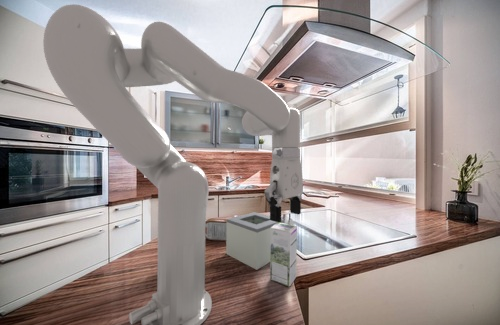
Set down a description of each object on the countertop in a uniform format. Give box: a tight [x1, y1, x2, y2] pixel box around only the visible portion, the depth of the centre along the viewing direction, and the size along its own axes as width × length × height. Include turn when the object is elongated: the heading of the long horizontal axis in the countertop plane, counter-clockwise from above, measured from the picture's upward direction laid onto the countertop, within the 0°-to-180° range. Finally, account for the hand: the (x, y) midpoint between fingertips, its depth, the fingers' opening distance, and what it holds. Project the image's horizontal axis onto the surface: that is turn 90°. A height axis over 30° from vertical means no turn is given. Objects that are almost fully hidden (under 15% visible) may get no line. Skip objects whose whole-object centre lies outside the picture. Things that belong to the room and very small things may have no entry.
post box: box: [225, 211, 285, 271], centre depth 67 cm, size 14×14×12 cm
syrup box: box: [269, 222, 298, 287], centre depth 53 cm, size 6×6×14 cm
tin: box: [205, 217, 228, 242], centre depth 79 cm, size 15×3×8 cm, turn 84°
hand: (286, 217), depth 54 cm, fingers open, 9 cm apart
